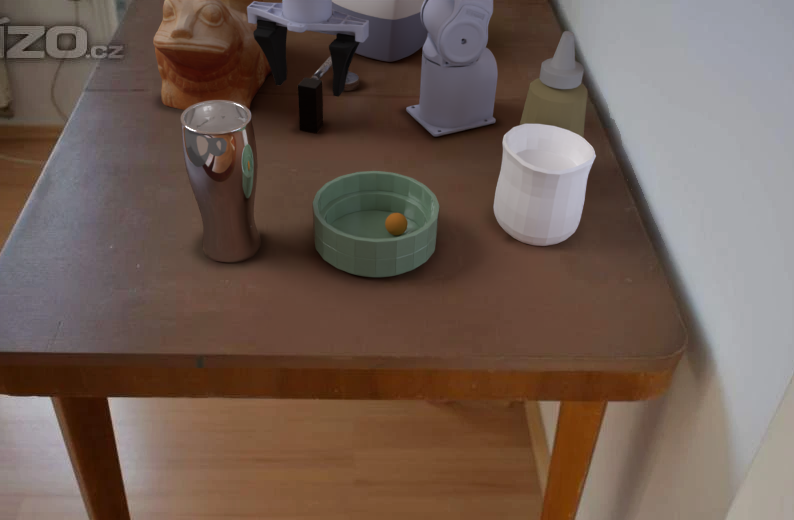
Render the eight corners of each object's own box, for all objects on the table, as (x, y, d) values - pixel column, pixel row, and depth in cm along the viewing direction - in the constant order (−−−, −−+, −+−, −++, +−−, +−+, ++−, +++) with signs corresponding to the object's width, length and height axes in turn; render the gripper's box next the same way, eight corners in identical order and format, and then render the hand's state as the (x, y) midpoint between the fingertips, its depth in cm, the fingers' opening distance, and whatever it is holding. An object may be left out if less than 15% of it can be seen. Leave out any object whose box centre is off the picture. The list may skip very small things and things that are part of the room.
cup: (560, 259, 89) (577, 180, 83) (475, 229, 93) (485, 151, 86) (590, 216, 96) (608, 139, 89) (510, 190, 99) (522, 114, 92)
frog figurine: (136, 122, 107) (114, 4, 97) (204, 40, 126) (191, -66, 116) (242, 135, 106) (230, 16, 96) (293, 49, 125) (288, -57, 115)
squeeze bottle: (536, 155, 105) (561, 12, 93) (589, 182, 101) (622, 35, 89) (494, 178, 101) (514, 30, 88) (548, 207, 97) (576, 56, 84)
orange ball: (400, 224, 92) (401, 206, 90) (410, 236, 90) (412, 217, 89) (381, 230, 91) (381, 211, 89) (391, 241, 89) (391, 223, 88)
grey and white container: (311, 47, 126) (309, -30, 118) (372, 16, 135) (373, -57, 128) (395, 76, 120) (398, -3, 112) (452, 42, 129) (459, -33, 122)
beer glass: (207, 271, 85) (187, 139, 75) (191, 234, 90) (170, 105, 80) (273, 257, 87) (262, 127, 77) (254, 221, 92) (242, 94, 82)
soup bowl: (400, 199, 97) (402, 160, 93) (457, 261, 88) (462, 222, 85) (295, 226, 92) (293, 187, 88) (346, 294, 84) (346, 254, 80)
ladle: (338, 77, 119) (337, 33, 114) (362, 82, 118) (362, 37, 114) (295, 129, 107) (292, 82, 103) (321, 134, 107) (320, 87, 102)
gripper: (232, -24, 93) (242, 90, 103) (355, -4, 91) (354, 112, 100) (258, -44, 98) (265, 67, 108) (375, -25, 96) (372, 87, 105)
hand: (309, 87), depth 104 cm, fingers open, 7 cm apart
